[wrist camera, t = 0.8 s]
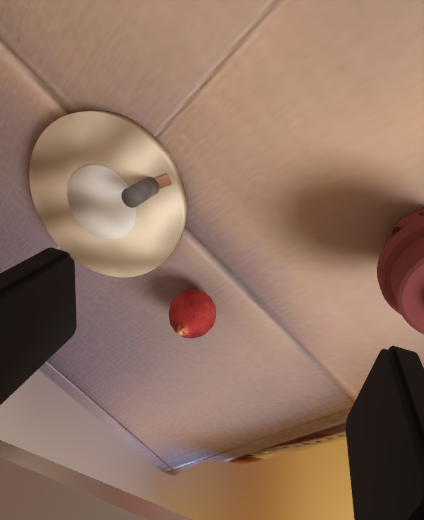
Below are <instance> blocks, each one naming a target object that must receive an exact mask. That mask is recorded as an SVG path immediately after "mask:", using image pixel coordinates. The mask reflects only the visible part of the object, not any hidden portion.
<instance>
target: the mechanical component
mask: <svg viewBox="0 0 424 520" xmlns="http://www.w3.org/2000/svg"><path fill="white" fill-rule="evenodd" d="M377 278H378V282H379V286H380V289H381V291H382V294H383V296H384V298H385V300H386V301H387V302H388V304H389V305H390V306H391V307H392V308H393V309H394V310H395V311H397V312H398V313H399V314H401V315H402V316H403V317H404V319H405V320H406V322H407V323H408V324H409V325H410V326H411V327H413V328H414V329H416V330H417V331H418V332H420V333H422V334H424V208H422V209H420V210H419V211H418V212H416V213H413V214H410V215H408V216H406V217H405V218H403V219H402V220H400V221H399V222H398V223H397V224H396V225H395V226H394V227H393V228H392V230H391V231H390V233H389V235H388V237H387V240H386V246H385V247H384V249H383V251H382V253H381V255H380V257H379V261H378V266H377Z"/></svg>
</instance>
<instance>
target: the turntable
mask: <svg viewBox="0 0 424 520" xmlns="http://www.w3.org/2000/svg"><path fill="white" fill-rule="evenodd" d="M29 180H30V189H31V195H32V198H33V202H34V205H35V208H36V210H37V213H38V215H39V217H40V219H41V221H42V223H43V225H44V227H45V228H46V230H47V231H48V233H49V234H50V236H51V237H52V238H53V240H54V241H55V242H56V243H57V244H58V245H59V246H60V247H61V249H62V250H64V251H65V252H68V253H69V254H70V256H71V257H72V258H73V259H74V260H76V261H77V262H78V263H80V264H82V265H83V266H85V267H87V268H89V269H91V270H93V271H96V272H98V273H101V274H105V275H109V276H114V277H133V276H139V275H142V274H145V273H147V272H149V271H151V270H153V269H155V268H156V267H158V266H159V265H161V264H162V263H163V262H164V261H165V260H166V259H167V258H168V256H169V255H170V254H171V253H172V252H173V250H174V249H175V248H176V246H177V245H178V243H179V241H180V239H181V237H182V234H183V231H184V228H185V223H186V215H187V203H186V194H185V189H184V185H183V182H182V179H181V176H180V173H179V171H178V169H177V167H176V165H175V163H174V161H173V159H172V158H171V156H170V155H169V153H168V152H167V150H166V149H165V148H164V146H163V145H162V144H161V143H160V142H159V141H158V140H157V139H156V138H155V137H154V136H153V135H152V134H151V133H150V132H149V131H148V130H146V129H145V128H144V127H143V126H141V125H139V124H138V123H136V122H134V121H133V120H131V119H129V118H126V117H124V116H122V115H119V114H115V113H112V112H106V111H84V112H77V113H72V114H68V115H66V116H63V117H61V118H59V119H57V120H56V121H54V122H53V123H51V124H50V125H49V126H48V127H47V128H46V129H45V130H44V131H43V133H42V134H41V135H40V137H39V139H38V140H37V142H36V144H35V146H34V149H33V152H32V155H31V161H30V169H29Z"/></svg>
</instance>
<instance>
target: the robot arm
mask: <svg viewBox="0 0 424 520" xmlns="http://www.w3.org/2000/svg"><path fill="white" fill-rule="evenodd" d="M75 330H76V295H75V265H74V260H73V259H72V258H71V256H70V254H69V253H68V252H65V251H62V250H58V249H55V248H47V249H45V250H44V251H42V252H40V253H38V254H36V255H34V256H32V257H30V258H29V259H27V260H25V261H23V262H21V263H19V264H17V265H16V266H14V267H12V268H10V269H8V270H6V271H4V272H2V273H1V274H0V405H1V404H2V403H3V402H4V401H5V400H6V399H7V398H8V397H9V396H10V395H11V394H12V393H13V392H14V391H16V390H17V389H18V388H19V387H20V386H21V385H22V384H23V383H24V382H25V381H26V380H27V379H28V378H29V377H30V376H31V375H32V374H33V373H34V372H35V371H37V370H38V369H39V368H40V367H41V366H42V365H43V364H44V363H45V362H46V361H47V360H48V359H49V358H50V357H51V356H52V355H53V354H54V353H55V352H56V351H58V350H59V349H60V348H61V347H62V346H63V345H64V344H65V343H66V342H67V341H68V340H69V339H70V338H71V337H72V336H73V334H74V333H75ZM346 436H347V446H348V457H349V467H350V477H351V488H352V498H353V508H354V518H355V520H424V368H423V366H422V363H421V361H420V359H419V356H418V354H417V353H415V352H413V351H409V350H406V349H402V348H399V347H395V346H391V347H390V348H389V349H388V350H386V349H382V350H381V351H380V353H379V355H378V357H377V359H376V361H375V363H374V365H373V367H372V369H371V371H370V373H369V375H368V377H367V379H366V381H365V383H364V385H363V387H362V389H361V391H360V393H359V395H358V397H357V399H356V401H355V403H354V405H353V407H352V409H351V411H350V413H349V415H348V417H347V421H346ZM0 520H192V519H190V518H188V517H185V516H183V515H180V514H178V513H176V512H173V511H171V510H168V509H166V508H164V507H161V506H159V505H156V504H154V503H152V502H149V501H147V500H144V499H142V498H140V497H137V496H135V495H132V494H130V493H127V492H125V491H122V490H120V489H118V488H115V487H113V486H111V485H108V484H106V483H103V482H101V481H99V480H96V479H93V478H91V477H89V476H86V475H84V474H82V473H79V472H77V471H74V470H72V469H69V468H67V467H65V466H62V465H60V464H57V463H55V462H52V461H50V460H48V459H45V458H43V457H40V456H38V455H35V454H33V453H30V452H28V451H25V450H23V449H21V448H18V447H16V446H13V445H11V444H8V443H6V442H3V441H1V440H0Z"/></svg>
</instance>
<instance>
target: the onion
mask: <svg viewBox="0 0 424 520" xmlns="http://www.w3.org/2000/svg"><path fill="white" fill-rule="evenodd" d="M215 318H216V309H215V305H214V303H213V301H212V299H211V297H210V296H208V295H207V294H206V293H205V292H202V291H200V290H194V289H191V290H187V291H184V292H181V293H180V294H179V295H178V296H177V297H176V298H175V299H174V300H173V301H172V303H171V306H170V309H169V319H170V324H171V326H172V327H173V329H174V331H175V332H176V333H177V334H179V335H180V336H182V337H184V338H196V337H200V336H203V335H204V334H206V333H207V332H208V331H209V330H210V329H211V328H212V326H213V325H214V322H215Z"/></svg>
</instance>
